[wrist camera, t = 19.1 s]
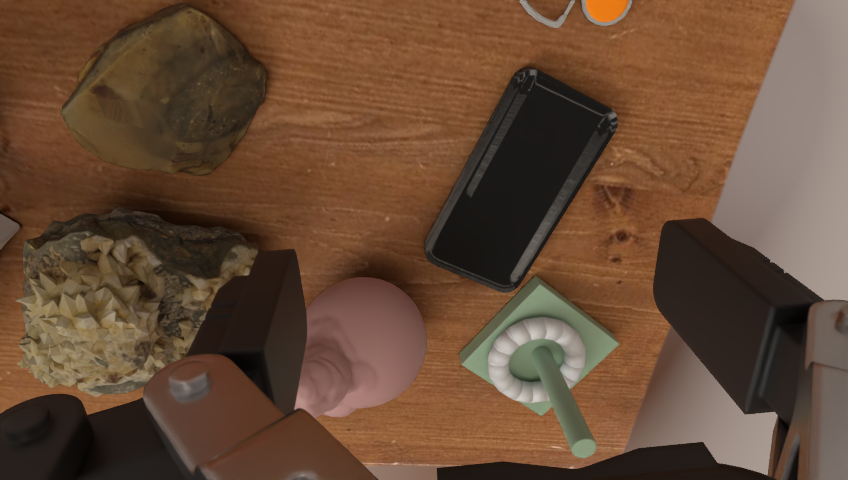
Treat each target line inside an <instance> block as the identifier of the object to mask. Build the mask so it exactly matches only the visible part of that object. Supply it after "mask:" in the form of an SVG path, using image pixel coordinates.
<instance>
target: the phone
mask: <svg viewBox="0 0 848 480" xmlns="http://www.w3.org/2000/svg"><path fill="white" fill-rule="evenodd" d="M617 125H618V119H617V115H616V114H615V112H614V111H613V110H612V109H610V108H608V107H607V106H605V105H603V104H601V103H599V102H597V101H595V100H593V99H592V98H590V97H588V96H586V95H584V94H582V93H580V92H579V91H577V90H575V89H573V88H571V87H569V86H567V85H566V84H564V83H562V82H560V81H558V80H556V79H554V78H553V77H551V76H549V75H547V74H545V73H543V72H541V71H539V70H537V69H535V68H532V67H526V68H523V69H520V70H519V71H518V72H516V73H515V75H514V76H513V77H512V79H511V81H510V83H509V85H508V87H507V89H506V90H505V92H504V94H503V96H502V98H501V100H500V102H499V103H498V105H497V107H496V109H495V111H494V113H493V115H492V117H491V118H490V120H489V122H488V124H487V126H486V128H485V130H484V131H483V133H482V135H481V137H480V139H479V141H478V143H477V145H476V146H475V148H474V150H473V152H472V154H471V156H470V158H469V159H468V161H467V163H466V165H465V167H464V169H463V171H462V173H461V174H460V176H459V178H458V180H457V182H456V184H455V186H454V187H453V189H452V191H451V193H450V195H449V197H448V199H447V201H446V202H445V204H444V206H443V208H442V210H441V212H440V214H439V215H438V217H437V219H436V221H435V223H434V225H433V227H432V229H431V230H430V232H429V234H428V236H427V238H426V240H425V243H424V249H425V254H426V257H427V259H428V260H429V261H430V262H431V263H432V264H434V265H436V266H438V267H441V268H443V269H446V270H448V271H451V272H453V273H456V274H458V275H460V276H463V277H465V278H468V279H470V280H473V281H475V282H477V283H480V284H482V285H485V286H487V287H490V288H492V289H495V290H497V291H500V292H510V291H513V290H515V289H516V288H517V287H518V286H519V285H520V284H521V282H522V280H523V279H524V277H525V276H526V274H527V272H528V271H529V269H530V268H531V266H532V264H533V263H534V261H535V259H536V258H537V256H538V255H539V253H540V251H541V250H542V248H543V247H544V245H545V243H546V242H547V240H548V239H549V237H550V235H551V234H552V232H553V231H554V229H555V227H556V226H557V224H558V223H559V221H560V219H561V218H562V216H563V215H564V213H565V211H566V210H567V208H568V206H569V205H570V203H571V202H572V200H573V198H574V197H575V195H576V194H577V192H578V190H579V189H580V187H581V186H582V184H583V182H584V181H585V179H586V178H587V176H588V174H589V173H590V171H591V170H592V168H593V166H594V165H595V163H596V162H597V160H598V158H599V157H600V155H601V153H602V152H603V150H604V149H605V147H606V145H607V144H608V142H609V141H610V139H611V137H612V136H613V134H614V133H615V131H616V128H617Z"/></svg>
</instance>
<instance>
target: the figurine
mask: <svg viewBox="0 0 848 480" xmlns="http://www.w3.org/2000/svg"><path fill="white" fill-rule="evenodd" d="M306 315H307V342H306V348H305V353H304V359H303V364H302V370H301V376H300V381H299V387H298V392H297V398H296V403H295V409H294V410H296V409H297V408H302V409H304V410H306V411H307V412H308V413H310V414H311V415H312V416H313V417H314V418H317V417H318V416H320V415H321V414H324V415H326V416H333V417H345V416H347V415H349V414H351V413H352V412H354V411H355V410H356V409H357V408H367V407H374V406H378V405H381V404H384V403H386V402H389V401H391V400H392V399H394V398H396V397H397V396H399V395H400V394H401V393H403V392H404V391H405V390H406V389H407V388H408V387H409V386H410V385H411V383H412V382H413V381H414V380H415V378H416V377H417V375H418V373H419V371H420V369H421V367H422V364H423V362H424V358H425V354H426V346H427V336H426V329H425V324H424V321H423V318H422V316H421V313H420V311H419V309H418V308H417V306H416V305H415V303H414V302H413V301H412V299H411V298H410V297H409V296H408V295H407V294H406V293H405V292H403V291H402V290H401V289H400V288H398V287H396V286H395V285H393V284H391V283H389V282H387V281H384V280H381V279H376V278H370V277H356V278H350V279H346V280H343V281H340V282H337V283H335V284H333V285H331V286H330V287H328V288H327V289H325V290H324V291H323V292H321V293H320V294H319V295H318V296H317V297H316V298H315V299H314V300H313V301H312V303H311V304H310V305H309V307H308V308H307V310H306Z"/></svg>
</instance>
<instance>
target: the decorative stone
mask: <svg viewBox="0 0 848 480" xmlns="http://www.w3.org/2000/svg"><path fill="white" fill-rule="evenodd" d="M265 81H266V70H265V68H264V67H263V66H261V65H260V64H259V63H257V62H256V61H255V60H254V59H252V58H251V57H250V56H249V55H248V53H247V52H246V50H245V48H244V47H243V46H242V45H241V44H240V43H239V42H238V41H237V40H236V39H235V38H234V37H233V36H232V35H231V34H230V33H229V32H228V31H226V30H225V29H224V28H223V27H221V26H220V25H219V24H218V23H216V22H215V21H214V20H212V19H211V18H210V17H208V16H207V15H205V14H204V13H202V12H200V11H198V10H197V9H195V8H193V7H191V6H189V5H188V4H186V3H180V4H176V5H173V6H170V7H167V8H164V9H162V10H160V11H158V12H157V13H155V14H154V15H152V16H150V17H148V18H147V19H145V20H143V21H140V22H137V23H133V24H130V25H129V26H127V27H126V28H124V29H122V30H121V31H120V32H118V33H117V34H116V35H115V36H114V37H113V38H112V39H110V40H109V41H108V42H106V43H104V44H102V45H101V46H100V47H99V48H98V49H97V50H96V51H95V52H94V53H93V54H92V55H91V57H90V59H89V60H88V62H87V63H86V65H85V66H84V67H83V69H82V70H81V71H80V72H79V75H78V81H77V87H76V89H75V90H74V92H73V93H72V94H71V96H70V97H69V99H68V100H67V101H66V102H65V103H64V104H63V106H62V111H61V115H62V117H63V119H64V121H65V122H66V124H67V125H68V127H69V129H70V130H71V133H72V134H73V136H74V138H75V139H76V141H77V142H78V143H79V144H80V145H81V146H82V147H83V148H85V149H86V150H88V151H89V152H91V153H92V154H94V155H96V156H97V157H99V158H100V159H102V160H103V161H105V162H108V163H113V164H116V165H118V166H121V167H126V168H131V169H142V170H154V169H155V170H159V171H163V172H166V173H169V174H174V173H176V172H177V171H179V172H183V173H188V174H190V175H208V174H210V173H212V171H213V170H214V169H215V168H216V167H217V166H218V165H219V164H220V163H222V162H223V161H224V160H225V159H226V158H227V157H228V156H229V155H230V153H231V152H232V149H233V147H234V145H235V144H236V143H237V142H238V141H239V140H240V139H241V138H242V137H243V136H244V134H245V133H246V129H247V127H248V126H249V124H250V122H251V120H252V118H253V116H254V114H255V112H256V109H257V108H258V107H259V106H260V105H261V104H262V102H263V100H264V95H265V84H264V83H265Z"/></svg>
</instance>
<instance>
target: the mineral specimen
mask: <svg viewBox="0 0 848 480" xmlns="http://www.w3.org/2000/svg"><path fill="white" fill-rule="evenodd" d="M258 251H259V249H258V244H256V243H255V242H248V241H246V240H245V238H244V237H243V235H241V234H240V233H238V232H236V231H230V230H228V229H227V228H223V227H221V226H218V227H211V228H203V227H200V226H196V225H188V226H181V225H174V224H172V223H169V222H165V221H164V220H162V219H161V218H160V217H159V216H158V215H154V214H149V213H144V212H140V211H132V210H129V209H125V208H119V207H116V208H115V209H114V210H113V211H112V212H111V213H108V214H102V215H94V214H87V213H86V214H82V215H78V216H76V217H75V218H73V219H71V220H69V221H67V222H58V221H52V222H51V224H50V225H49V226H48V228H47V229H46V230H45V231H44V233H43V234H42V235H41V236H40V237H38V238H34V239H30V240H26V241H25V245H24V248H23V270H24V274H25V276H26V279H25V280H24V282H23V289H24V297H22V298H20V299H17V300H15V301H18V302H20V303H22V314H23V316H24V322H25V328H26V331H25V336H24V337H23V338H22V339H20V342H21V344H18V345H19V346H20V347H21V349H22V350H23V351H24V352H23V358H22V360H21V361H20V362H19V363H18V365H19V366H20V367H21V368H30V371H29V372H28V373H33V374H34V376H35V378H40V381H41V382H42V383H43V384H44V383H47V385H48V386H49V387H50V388H53V387H55V386H56V385H60V384H62V385H64V386H66V387H72V386H74V385H76V384H77V385H78V389H79V390H81V391H83V392H85V393H88V394H90V395H92V396H98V397H99V396H100V395H101V394H121V393H127V392H130V391H133V390H137V389H139V388H141V387H143V386H145V385H146V383H147V382H148V381H149V379H150V378H151V377H152V376H153V375H154V374H155V373H156V372H158V371H159V370H160V369H162V368H163V367H165V366H167V365H168V364H170V363H172V362H174V361H177V360H179V359H182V358H185V357H186V355H187V353H188V351H189V349H190V347H191V345H192V342H193V340H194V338H195V336H196V334H197V332H198V330H199V328H200V326H201V324H202V322H203V320H205V315H206V313H207V311H208V309H209V308H211V303H212V301H213V299H214V297H215V295H216V293H217V291H218V289H220V288H221V287H222V286H223V285H224V284H226V283H227V282H228V281H229V280H230V279H232V278H233V277H234V276H244V275H249V272H250V270H251V267H252V265H253V262H254V260H255V258H256V255H257V253H258Z"/></svg>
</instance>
